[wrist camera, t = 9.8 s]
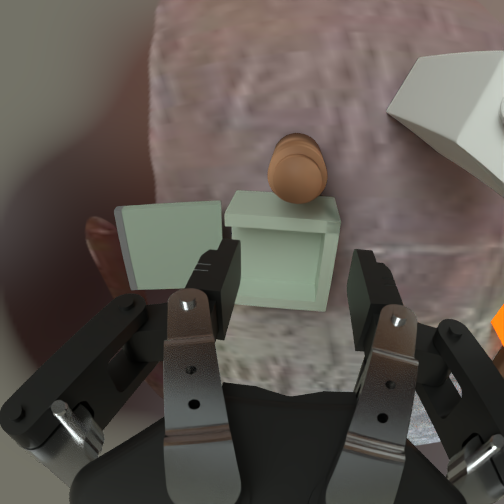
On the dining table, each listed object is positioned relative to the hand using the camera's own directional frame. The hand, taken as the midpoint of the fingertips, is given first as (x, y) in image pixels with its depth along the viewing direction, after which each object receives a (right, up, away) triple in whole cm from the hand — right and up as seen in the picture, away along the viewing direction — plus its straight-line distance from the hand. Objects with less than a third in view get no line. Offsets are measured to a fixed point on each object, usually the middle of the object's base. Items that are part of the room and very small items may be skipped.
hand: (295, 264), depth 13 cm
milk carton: (+16, +15, +12) cm, 24 cm away
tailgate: (-5, +1, +19) cm, 20 cm away
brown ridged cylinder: (+3, +10, +16) cm, 19 cm away
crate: (+2, +2, +21) cm, 21 cm away
